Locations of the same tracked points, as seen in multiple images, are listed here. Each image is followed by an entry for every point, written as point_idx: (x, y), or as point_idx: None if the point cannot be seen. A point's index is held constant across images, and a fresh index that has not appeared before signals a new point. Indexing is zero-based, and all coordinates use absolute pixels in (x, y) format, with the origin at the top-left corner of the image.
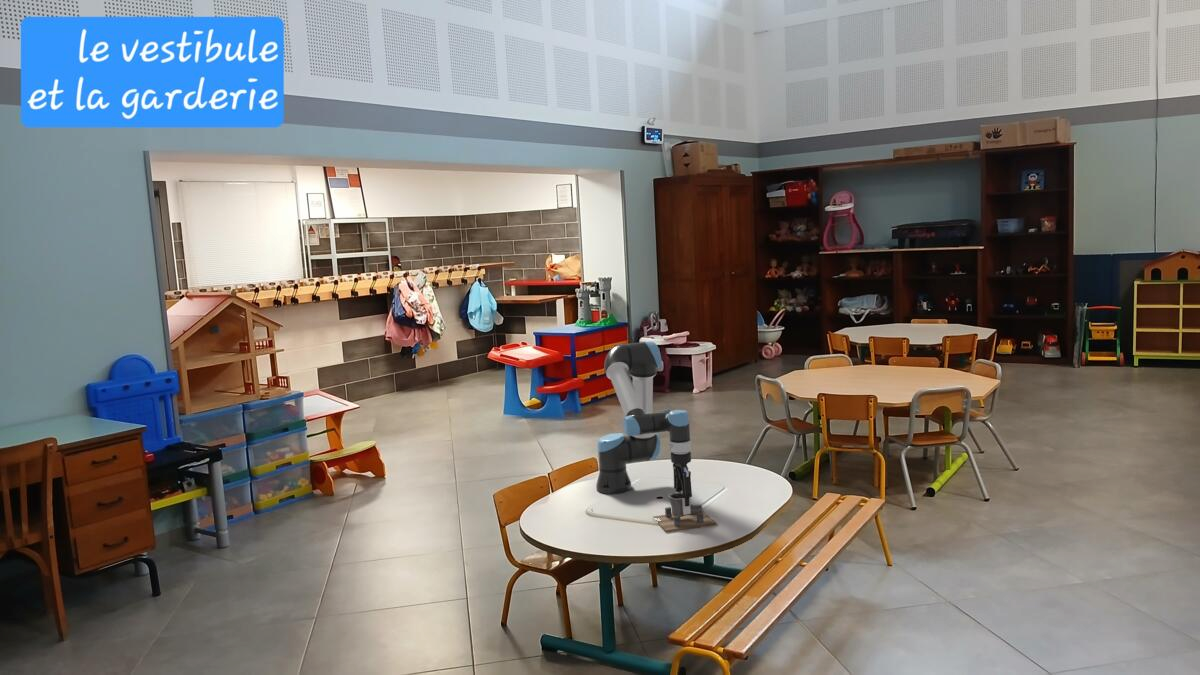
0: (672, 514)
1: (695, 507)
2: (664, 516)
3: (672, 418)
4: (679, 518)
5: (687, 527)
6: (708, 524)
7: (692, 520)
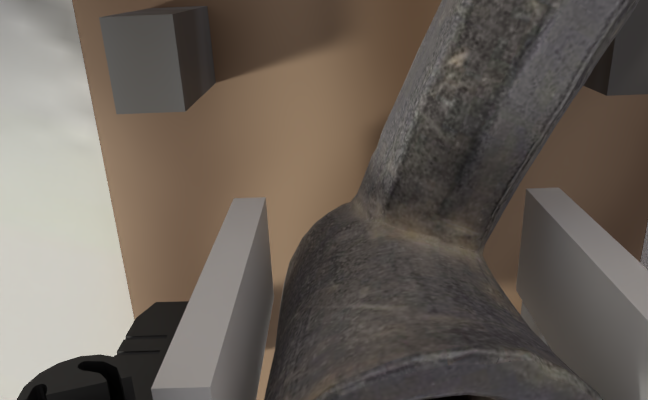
0: (150, 271)
1: (564, 106)
2: None
3: None
4: None
5: (641, 232)
6: None
7: None
